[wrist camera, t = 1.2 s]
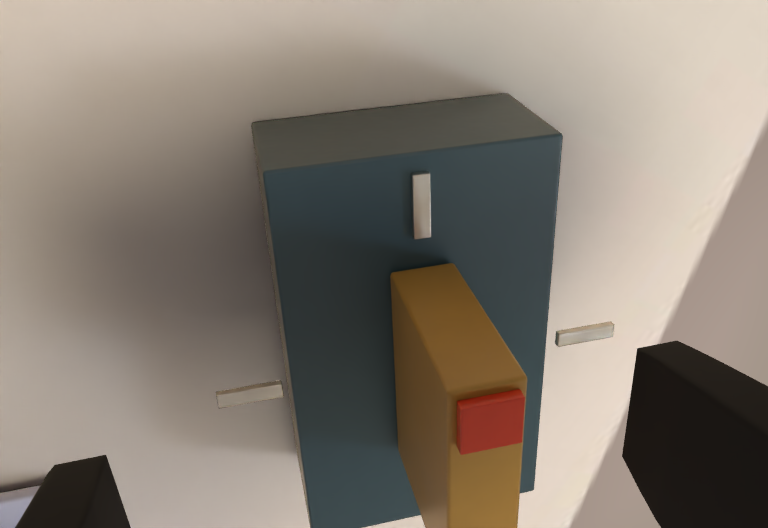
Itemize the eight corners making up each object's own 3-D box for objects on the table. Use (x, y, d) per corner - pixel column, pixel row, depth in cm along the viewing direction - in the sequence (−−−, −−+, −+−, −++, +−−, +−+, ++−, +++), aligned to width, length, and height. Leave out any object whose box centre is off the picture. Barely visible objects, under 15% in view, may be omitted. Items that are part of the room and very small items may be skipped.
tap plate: (544, 407, 22) (592, 483, 20) (241, 467, 21) (249, 558, 18) (571, 84, 17) (641, 126, 15) (176, 130, 16) (173, 186, 13)
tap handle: (453, 439, 18) (520, 587, 14) (397, 450, 18) (451, 603, 14) (454, 261, 15) (535, 386, 12) (389, 271, 15) (452, 401, 11)
